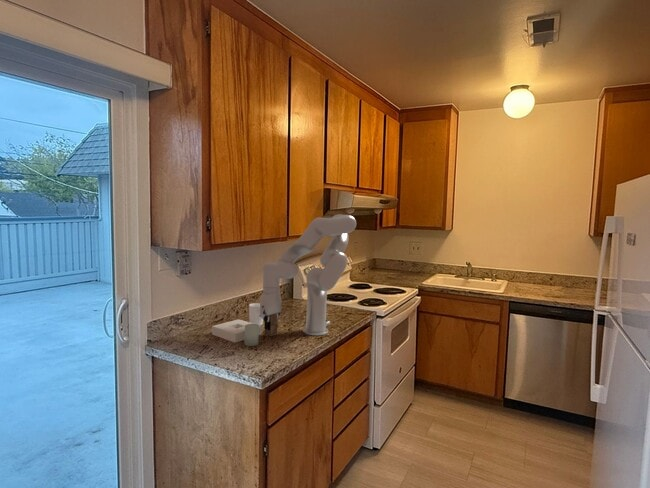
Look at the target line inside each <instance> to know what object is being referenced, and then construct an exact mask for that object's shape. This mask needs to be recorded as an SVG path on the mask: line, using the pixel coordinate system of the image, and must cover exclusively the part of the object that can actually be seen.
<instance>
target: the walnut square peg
mask: <svg viewBox="0 0 650 488" xmlns="http://www.w3.org/2000/svg"><path fill="white" fill-rule="evenodd" d="M266 317H267V316H266ZM269 321H270V330H266V329H265V328H264V335H265V336H266V335H267V336H271V337H272V336H275V335H277V334H278V327H277V313H274V314H271V315H270V320H269Z"/></svg>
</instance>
